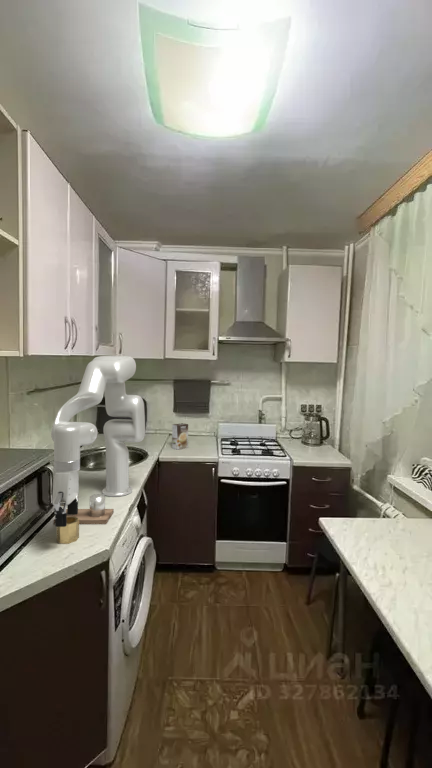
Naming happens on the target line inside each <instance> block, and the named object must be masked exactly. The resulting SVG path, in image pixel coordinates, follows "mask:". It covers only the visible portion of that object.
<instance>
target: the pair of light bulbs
mask: <svg viewBox="0 0 432 768" xmlns="http://www.w3.org/2000/svg"><path fill="white" fill-rule="evenodd" d="M89 509H90V516H91V517H101V516H103V515H105V509H106V495H104V494H103V493H96V494H91V495H89ZM67 515H68V516H74V515H76V514H67Z"/></svg>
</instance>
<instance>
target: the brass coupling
mask: <svg viewBox="0 0 432 768" xmlns="http://www.w3.org/2000/svg"><path fill="white" fill-rule="evenodd" d="M79 538H80V524H79V519H78V518H77V517H67V525H66V526H65V527H56V542H57V543H59V544H60V545H68V544H72V543H75V542H77V541H78V540H79Z"/></svg>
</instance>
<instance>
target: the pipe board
mask: <svg viewBox="0 0 432 768" xmlns="http://www.w3.org/2000/svg"><path fill="white" fill-rule="evenodd" d="M65 513H67V508H66V512H65ZM113 515H114V508H105V515H103V516H101V517H91V516H90V508H78V514H76V515H74V516H68V515H67V517H77V518H78V519H79V525H107V524H108V522H109V520H110V519H111V517H112V516H113ZM53 525H55V518H54V519H53Z"/></svg>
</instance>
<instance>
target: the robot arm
mask: <svg viewBox="0 0 432 768" xmlns="http://www.w3.org/2000/svg"><path fill="white" fill-rule="evenodd" d="M136 370H137V364H136V360H135V358H133V357H132V356H129V355H123V356H120V355H100V356H96V357H94V358H93V359H92V360H91V361H90V362H88V364H87V365H86V367H85V370H84V374H83V377H82V380H81V382H80V385H79V388H78V391H77V394H75V395H74V396H72V397H70V399H68V400H67V401H66V402H65V403H64V404H63V405H62V406H61V407H60V408H59V409H58V411H57V413H56V415H55V417H54V420H53V424H52V427H51V431H50V432H51V433H50V434H51V435H50V436H51V440H52V441H53V455H54V456H53V472H54V477H53V485H52V505H53V507H54V508H53V510H54V515H55V516H54V519H55V524H54V527H56V528H57V527H65V526H66V525H67V514H78V509H79V497H78V496H79V491H80V483H79V481H80V479H79V477H80V476H79V471H80V470H81V447H82V446H84V447H85V446H89V445H92V444H93V443H94V442H95V441H96V440H97V437H98V428H97V426H96V425H95V424H93V423H91V422H87V421H86V422H84V421H81V422H80V421H71V420H72V418H73V417H74V416H76V415H77V414H78V413H80V412H83V411H85V410H87V409H91V408H93V407H95V406H97V405H99V404H100V403H101V402H103V401H102V400H103V398H104V399H105V404H104V405H105V411H106V414H107V415H108V416H109V417H114V419H109V420H108V421H106V422H105V423H104V425H103V435H104V436H103V437H104V442H105V487H104V488H103V489H102V490H101V492H102V493H101V494H104V495H105V497H115V498H116V497H123V496H126V495H129V494H131V493H132V492H133V487H132V486H131V485H130V482H129V481H130V480H129V479H130V478H129V477H130V474H129V473H130V470H129V469H130V466H129V465H130V463H129V461H130V460H129V459H130V457H129V456H130V453H129V448H128V446H127V445H126V443H139V442H142V441H143V440H144V438H145V437H146V415H145V414H146V413H145V402H144V400H143V398H142V397H141V395H138V394H137V395H136V394H127V392H126V383H125V382H126V381H128V380H129V379H131V378H132V377H133V376H134V375H135V373H136ZM117 418H118V419H117ZM123 418H125V419H123ZM127 418H130V419H127ZM66 509H67V513H65V512H66Z"/></svg>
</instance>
